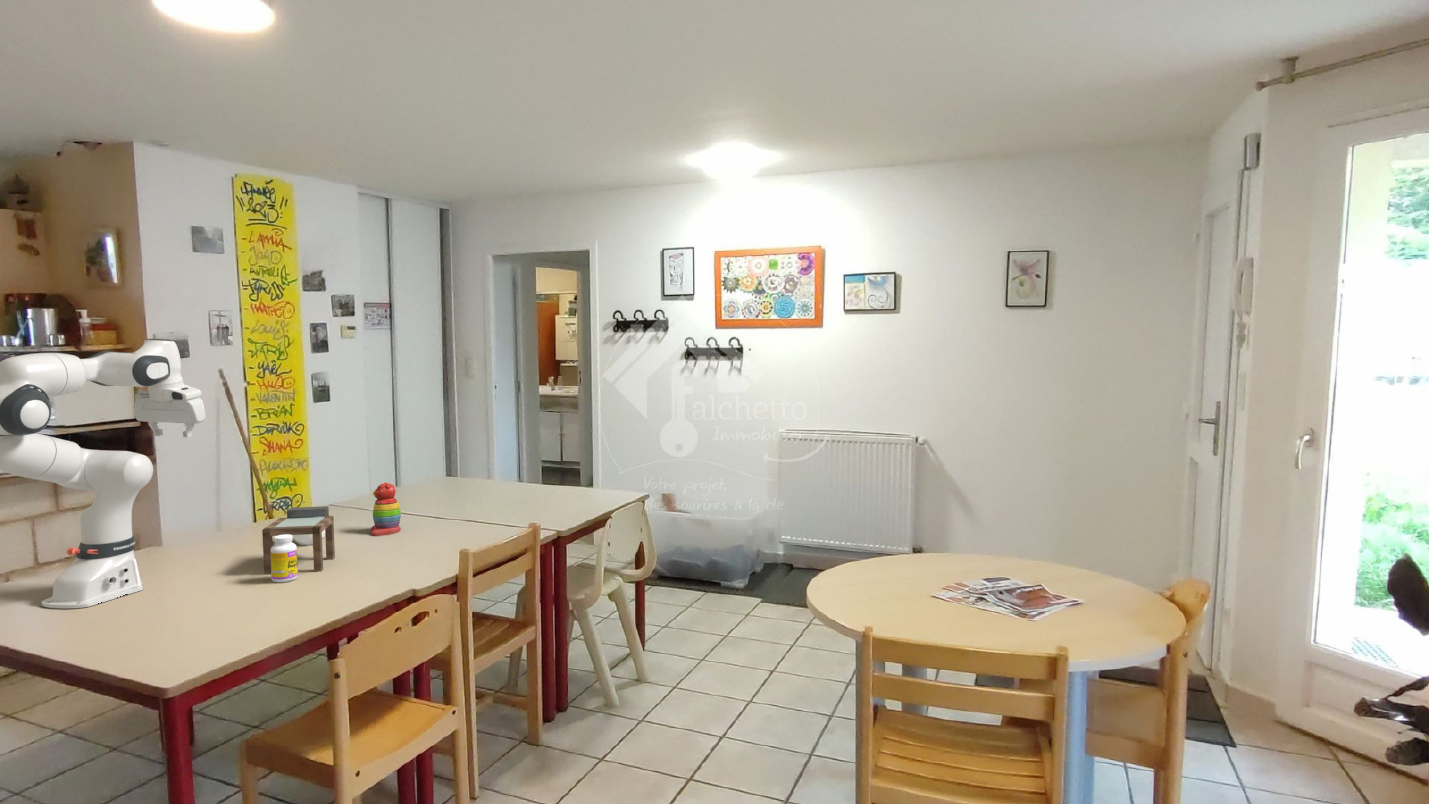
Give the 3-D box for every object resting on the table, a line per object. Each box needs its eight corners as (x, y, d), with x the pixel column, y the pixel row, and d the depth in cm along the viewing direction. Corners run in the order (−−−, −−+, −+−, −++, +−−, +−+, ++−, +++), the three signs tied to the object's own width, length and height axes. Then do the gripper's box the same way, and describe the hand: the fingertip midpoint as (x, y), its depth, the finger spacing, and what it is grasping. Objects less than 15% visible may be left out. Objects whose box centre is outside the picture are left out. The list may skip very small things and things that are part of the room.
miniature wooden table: (281, 560, 240) (279, 518, 239) (335, 557, 243) (333, 515, 242) (264, 574, 226) (262, 529, 225) (321, 571, 229) (319, 527, 228)
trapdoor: (291, 526, 243) (291, 507, 242) (329, 524, 245) (328, 506, 245) (274, 538, 228) (273, 519, 227) (314, 536, 230) (313, 517, 230)
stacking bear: (370, 529, 278) (369, 481, 277) (400, 526, 283) (399, 479, 281) (371, 536, 269) (369, 487, 267) (402, 533, 273) (400, 484, 271)
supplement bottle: (289, 583, 218) (287, 539, 217) (266, 583, 218) (264, 539, 217) (302, 576, 224) (300, 533, 223) (280, 575, 225) (278, 533, 223)
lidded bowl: (338, 538, 266) (337, 507, 265) (315, 548, 254) (314, 515, 253) (304, 537, 268) (303, 506, 267) (280, 547, 255) (279, 514, 254)
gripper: (125, 392, 226) (132, 437, 229) (190, 395, 224) (196, 440, 227) (143, 388, 232) (149, 432, 235) (206, 390, 231) (211, 434, 234)
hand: (173, 436), depth 231 cm, fingers open, 8 cm apart
